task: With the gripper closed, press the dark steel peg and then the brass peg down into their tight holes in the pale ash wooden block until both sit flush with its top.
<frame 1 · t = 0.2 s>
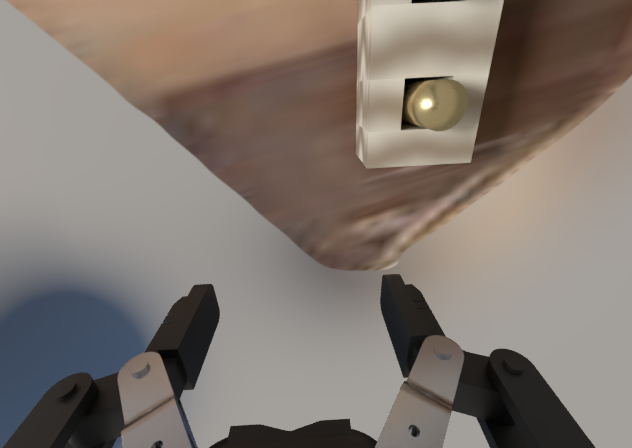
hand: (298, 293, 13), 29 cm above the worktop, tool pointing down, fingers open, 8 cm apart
brass peg: (428, 104, 28), point 8 cm above the worktop, slide at 4.0 cm
ash socket block: (406, 51, 33), on the worktop
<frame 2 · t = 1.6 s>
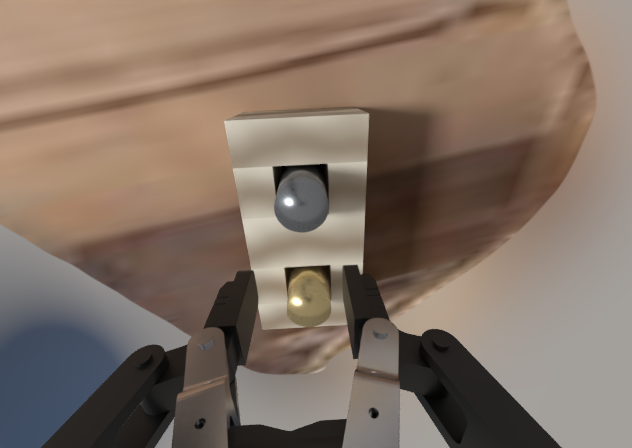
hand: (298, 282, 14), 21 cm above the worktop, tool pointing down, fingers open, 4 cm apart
brass peg: (308, 287, 30), point 8 cm above the worktop, slide at 4.0 cm
steel peg: (302, 193, 25), point 8 cm above the worktop, slide at 4.0 cm
ash socket block: (305, 210, 35), on the worktop
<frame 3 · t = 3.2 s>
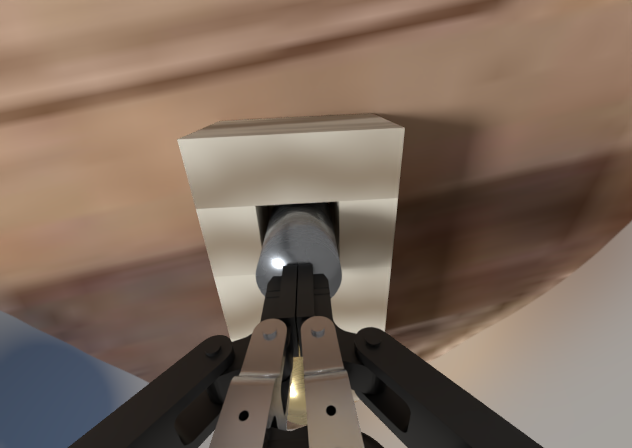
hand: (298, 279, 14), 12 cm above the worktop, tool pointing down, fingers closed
brass peg: (309, 361, 22), point 8 cm above the worktop, slide at 4.0 cm
steel peg: (300, 242, 17), point 8 cm above the worktop, slide at 3.8 cm, touching gripper
ash socket block: (305, 246, 27), on the worktop
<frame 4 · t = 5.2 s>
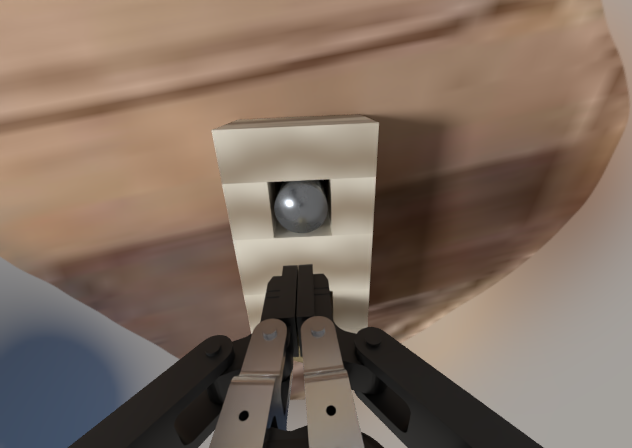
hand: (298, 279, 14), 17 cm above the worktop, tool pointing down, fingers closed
brass peg: (308, 315, 27), point 9 cm above the worktop, slide at 4.0 cm
steel peg: (301, 195, 26), point 4 cm above the worktop, slide at -0.1 cm
ash socket block: (305, 226, 32), on the worktop
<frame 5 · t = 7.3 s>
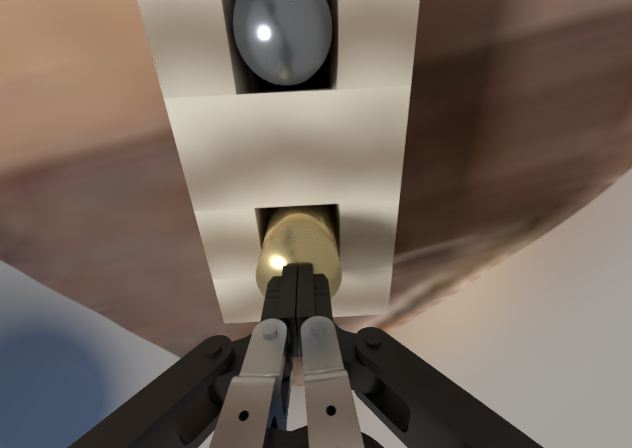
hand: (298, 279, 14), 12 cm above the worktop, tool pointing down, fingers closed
brass peg: (300, 242, 17), point 8 cm above the worktop, slide at 3.5 cm, touching gripper
steel peg: (287, 41, 15), point 4 cm above the worktop, slide at -0.1 cm
ash socket block: (297, 131, 22), on the worktop
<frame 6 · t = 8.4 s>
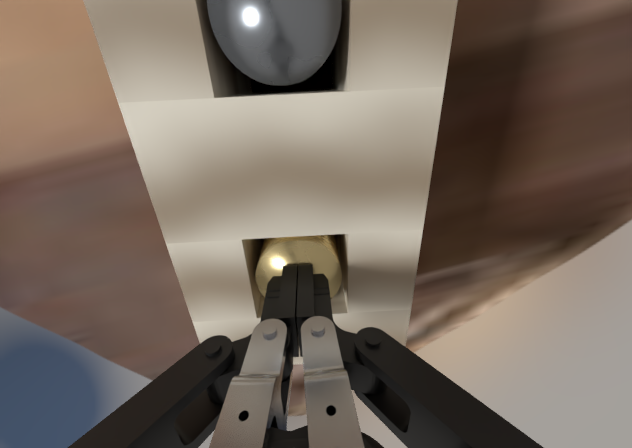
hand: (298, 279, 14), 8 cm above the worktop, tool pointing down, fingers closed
brass peg: (300, 243, 17), point 4 cm above the worktop, slide at -0.1 cm, touching gripper
steel peg: (282, 29, 12), point 4 cm above the worktop, slide at -0.1 cm
ash socket block: (295, 139, 19), on the worktop
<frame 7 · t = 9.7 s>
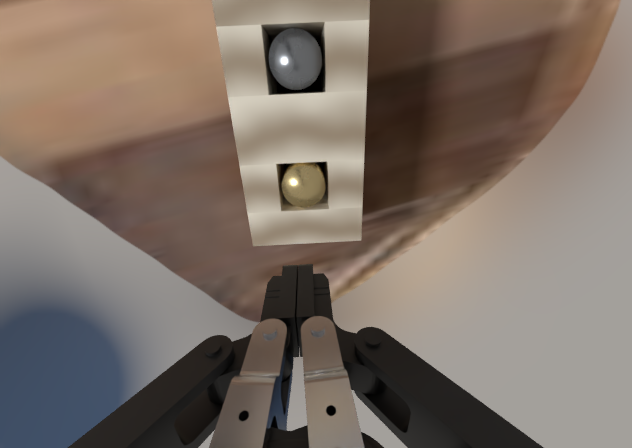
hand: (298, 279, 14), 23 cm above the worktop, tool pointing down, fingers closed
brass peg: (303, 177, 31), point 4 cm above the worktop, slide at -0.1 cm
steel peg: (296, 63, 26), point 4 cm above the worktop, slide at -0.1 cm
ash socket block: (301, 120, 32), on the worktop
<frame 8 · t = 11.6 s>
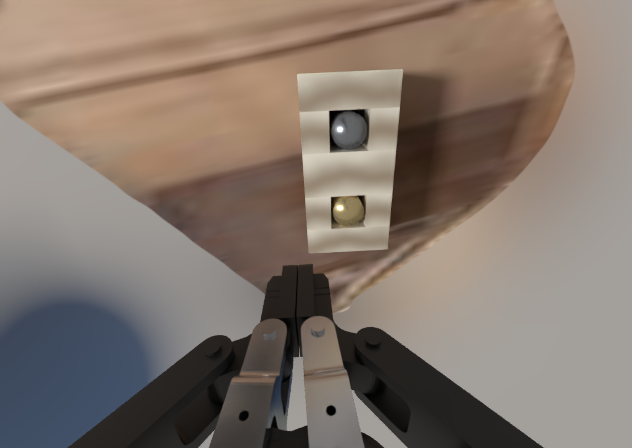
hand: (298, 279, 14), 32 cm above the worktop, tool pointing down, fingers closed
brass peg: (345, 202, 42), point 4 cm above the worktop, slide at -0.1 cm
steel peg: (345, 127, 37), point 4 cm above the worktop, slide at -0.1 cm
ash socket block: (341, 160, 44), on the worktop
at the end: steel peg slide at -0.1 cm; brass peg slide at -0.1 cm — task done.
